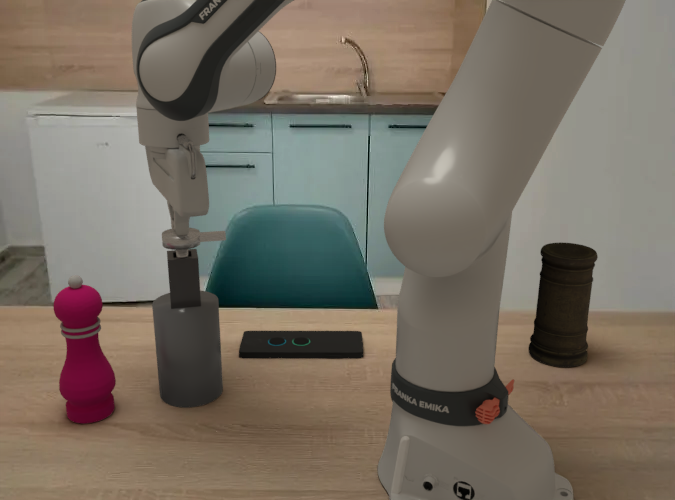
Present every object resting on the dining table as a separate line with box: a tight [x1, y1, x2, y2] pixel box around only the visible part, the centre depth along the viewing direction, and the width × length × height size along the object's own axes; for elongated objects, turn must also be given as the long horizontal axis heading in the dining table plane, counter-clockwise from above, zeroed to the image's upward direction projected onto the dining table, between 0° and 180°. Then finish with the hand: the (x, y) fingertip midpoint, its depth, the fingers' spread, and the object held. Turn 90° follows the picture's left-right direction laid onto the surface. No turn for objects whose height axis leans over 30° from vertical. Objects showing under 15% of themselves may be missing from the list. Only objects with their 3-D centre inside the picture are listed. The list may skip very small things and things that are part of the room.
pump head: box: [161, 227, 227, 258], centre depth 95 cm, size 8×5×9 cm, turn 104°
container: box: [528, 242, 599, 368], centre depth 110 cm, size 9×9×18 cm
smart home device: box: [238, 330, 364, 360], centre depth 114 cm, size 8×2×20 cm
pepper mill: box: [53, 274, 117, 424], centre depth 92 cm, size 7×7×20 cm
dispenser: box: [151, 248, 224, 409], centre depth 97 cm, size 9×9×21 cm
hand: (180, 232), depth 93 cm, fingers closed, pressing on pump head
